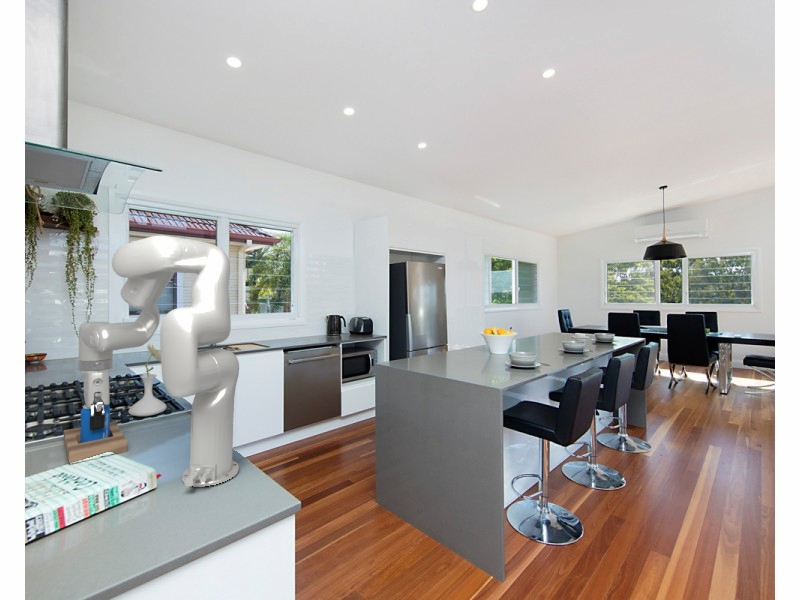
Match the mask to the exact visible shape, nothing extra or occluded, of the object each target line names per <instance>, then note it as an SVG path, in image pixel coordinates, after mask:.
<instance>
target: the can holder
mask: <svg viewBox="0 0 800 600" xmlns="http://www.w3.org/2000/svg"><path fill="white" fill-rule="evenodd" d="M80 428H81V426H80V427H76V428H71V429H64V430H63V442H64V443H63V444H64V447H65V453H66V457H67V461H69V462H68V464H69V463H72V462H75V461H79V460H83V459H86V458H90V457H93V456H96V455H100V454H103V453H106V452H113V453H119V454H122V453H121V452H123V453H127V452H128V441H127V439H126V437H125V436H124V434H123V432H122V431H121V429H120V427H119V425H118V423H117V422H116V420H114V421H110V437H108V438H103V439H99V440H94V441H89V442H84V443H80Z"/></svg>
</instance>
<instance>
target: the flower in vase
mask: <svg viewBox="0 0 800 600" xmlns="http://www.w3.org/2000/svg"><path fill="white" fill-rule="evenodd" d="M146 347H147V350H148V351H149V353H150V356H149V357H148V359H147V361H146V364H145V363H144V366H145V369H146V371H145V373H146V374H143V375H140V379H141V380H142V382H143V384H144V394H143V395H142V398H141V399H139V400H138V401H137V402H135V403H134V404H133V405H132V406H130V408H129V409H128V414H129V415H130V416H133V417H134V416H135V417H148V416H154V415H157V414H159V413H162V412H164V411H166V409H167V407H168V406H167V404H166V403H165V402H164V401H162V400H160V399H158V398H157V397H155V396H154V394H153V384H154V381H155V379H156V377H157V376H158V375H157V374H155V373H154V374H153V373H152V374H151V373H150V374H149V372H150V371H152V370H154V369H155V368H154V367H153V366H151V367H150V369H149V368H148V365H149V361H150V360H151V358H152V357H153V358H154V359H155V360H157V361H158V362H160V363H161V353H160V352H159V350H158V348H157V349H156V348H155V346H154V345H153V344H151V343H148V344H147V346H146Z"/></svg>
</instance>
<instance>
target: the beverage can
mask: <svg viewBox="0 0 800 600" xmlns="http://www.w3.org/2000/svg"><path fill="white" fill-rule="evenodd" d="M103 404H104V403H103ZM93 405H95V404H93ZM94 409H95V408H94ZM104 414H105V427H104V428H103V429H98V430H93V431H90V416H91V408H88V407H87V405H86V404H84V405H82V409H81V410H80V427H81V428H80V427H79V428H80V443H84V442H89V441H94V440H99V439H103V438H108V437H110V422H111V421H110V420H111V407H110V404H109V405H105V404H104Z"/></svg>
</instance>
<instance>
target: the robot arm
mask: <svg viewBox="0 0 800 600" xmlns="http://www.w3.org/2000/svg"><path fill="white" fill-rule="evenodd" d="M111 266H112V270H113V272H114V273H115V274H116V275H118V277H121V278H125V279H126V282H125V283H124V284H123V286H122V288H121V289H120V297H121V299H122V300H123V301H124V302H126V303H127V304H128V305H130V306H132V307H133V308H136V309H139V310H141V312H140V314H139V315H138V317H137V319H136V320H135V321H126V322H125V321H124V322H114V323H111V322H107V321H87V322H83V323H81V324H80V326H79V328H78V361H77V362H78V370H77V371H78V373H81V374H83V397H84V402H85V405H87V407H88V408H91V416H90V431H93V430H98V429H103V428H104V427H105V414H104V404H105V405H109V406H110V403H111V401H110V400H111V399H110V375H109V371H112V370H113V361H114V360H113V357H114V356H113V355H114V351H118V350H125V349H132V348H138V347H143V346H144V345H146V344H147V343H148V342H149V341H150V340H151V339H152V337H153V336H154V334H155V332H156V331H157V329H158V327H159V325H160V327H159V328H160V329H159V345H160V346H159V347H160V348H159V349H160V355H161V362H160V363H161V365H160V366H161V379H162V383H163V385H164V389H165V390H166V392H167V393H168V394H169V395H171V396H173V397H174V398H180V399H181V398H186V397H187V398H188V397H190V396H194V397H193V399H192V404H191V414H190V415H191V416H190V442H189V443H190V444H189V445H190V448H189V454H190V455H189V467H188V468H186V469H185V470H184V471H183V473H182V478H181V479H182V480H181V481H182V482H183V484H184V486H185V487H187V488H190V487H192V486H193V488H206V487H205V486H209V487H211V486H210V485H214V486H217V485H216V484H218V485H220V484H219V483H221V484H223V483H222V482H224V483H225V481H226V482H228V481H230V480H232V479H233V478H234V477H236V475H237V474H238V472H239V468H240V467H239V466H240V465H239V463H238V462H237V461H235V460H233V449H234V448H233V446H234V443H233V441H234V413H235V395H236V394H235V393H236V388H237V384H238V383H237V382H238V378H239V374H240V363H239V359H238V358H237V356H236V354H235V353H234V352H232V351H231V350H228V349H224V348H213V349H209V350H203V351H198V347H204V346H211V345H216V344H219V343H222V342H224V341H226V340H227V339H228V338H229V336H230V334H231V323H232V322H231V307H230V306H231V305H230V304H231V303H230V287H229V286H230V274H231V264H230V260H229V257H228V255H227V253H226V252H225V250H223V249H222V248H221V247H220V246H217V245H215V244H213V243H210V242H205V241H202V240H201V241H200V240H197V239H196V240H195V239H190V238H183V237H176V236H170V235H161V234H160V235H159V234H158V235H153V236H152V235H151V236H149V237H145V238H141V239H138V240H134V241H130V242H127V243H125V244H123V245H121V246H120V247H118V248H117V249H116V250H115V252H114V253H113V256H112V260H111ZM175 273H177V274H179V273H180V274H181V273H182V274H197V276H196V277H195V279H194V281H193V282H192V285H191V288H190V299H191V300H190V301H191V302H190V303H191V304H190V306H187V307H186V306H183V307H178V308H174V309H172V310H170V311H169V312H168V313H166V314H165V316H164V317H163V319H162V322H161V324H160V321H161V320H160V319H161V317H160V316H161V315H160V309H159V307H158V304H157V303H158V300H159V299H160V298H161V296H162V294H163V293H164V291H165V289H166V288H167V286H168V284H169V283H170V282H171V280H172V278H173V276H174V275H175ZM103 403H104V404H103ZM93 404H95V405H93ZM94 408H95V409H94ZM232 477H233V478H232ZM229 479H230V480H229ZM227 480H228V481H227Z"/></svg>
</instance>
